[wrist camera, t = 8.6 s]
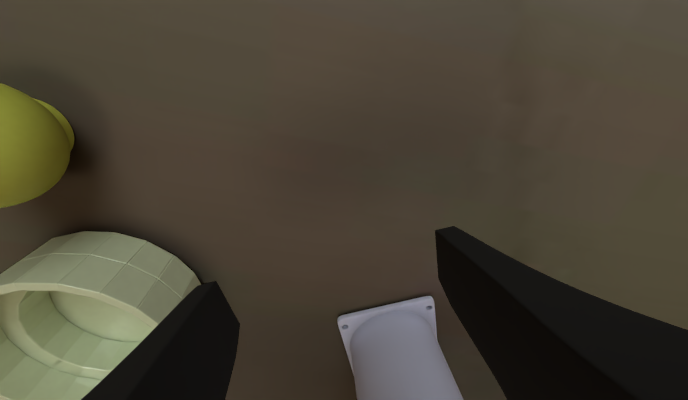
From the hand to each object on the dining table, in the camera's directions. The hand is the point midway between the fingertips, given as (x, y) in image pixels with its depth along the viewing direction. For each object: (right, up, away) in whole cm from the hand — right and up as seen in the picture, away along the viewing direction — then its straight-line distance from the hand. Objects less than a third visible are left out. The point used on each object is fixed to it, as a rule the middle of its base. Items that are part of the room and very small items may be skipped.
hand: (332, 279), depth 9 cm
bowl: (-15, -4, +11) cm, 19 cm away
